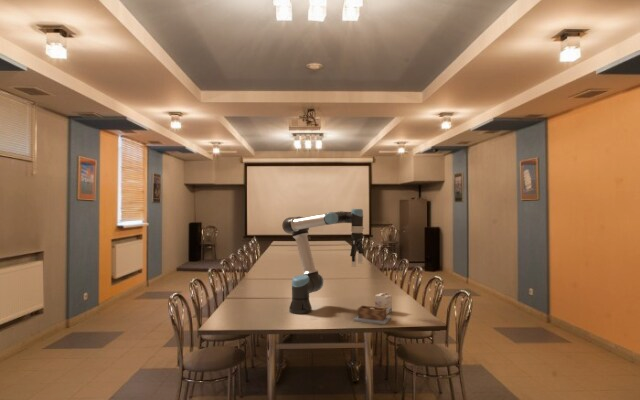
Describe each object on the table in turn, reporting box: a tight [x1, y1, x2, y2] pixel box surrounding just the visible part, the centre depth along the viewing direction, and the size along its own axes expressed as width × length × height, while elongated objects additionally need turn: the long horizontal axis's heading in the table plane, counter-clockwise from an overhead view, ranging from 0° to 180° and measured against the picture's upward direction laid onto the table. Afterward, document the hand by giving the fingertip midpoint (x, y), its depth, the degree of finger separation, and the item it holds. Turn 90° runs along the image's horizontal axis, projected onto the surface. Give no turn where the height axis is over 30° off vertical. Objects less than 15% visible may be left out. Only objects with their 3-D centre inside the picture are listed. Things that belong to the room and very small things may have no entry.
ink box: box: [374, 291, 393, 315], centre depth 284 cm, size 9×8×13 cm
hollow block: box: [357, 305, 387, 321], centre depth 266 cm, size 16×8×6 cm, turn 67°
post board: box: [353, 308, 391, 325], centre depth 266 cm, size 20×14×7 cm
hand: (357, 265), depth 276 cm, fingers open, 13 cm apart
